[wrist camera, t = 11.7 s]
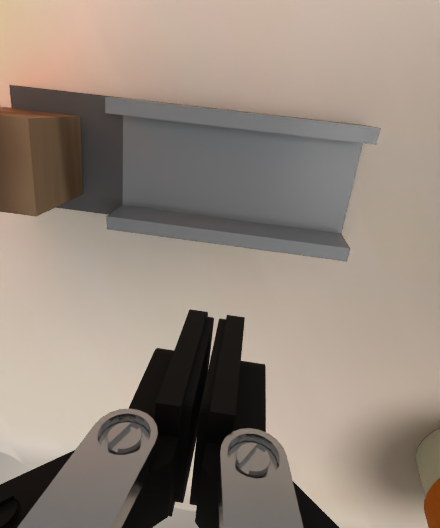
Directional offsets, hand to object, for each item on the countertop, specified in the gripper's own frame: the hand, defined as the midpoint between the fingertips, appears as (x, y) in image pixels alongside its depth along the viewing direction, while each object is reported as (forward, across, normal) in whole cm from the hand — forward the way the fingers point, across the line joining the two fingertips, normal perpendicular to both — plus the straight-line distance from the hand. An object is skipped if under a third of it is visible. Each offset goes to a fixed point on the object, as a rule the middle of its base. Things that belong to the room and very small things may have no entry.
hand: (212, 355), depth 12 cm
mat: (+21, +14, -2) cm, 26 cm away
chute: (+21, +1, -2) cm, 21 cm away
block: (+20, +16, -2) cm, 26 cm away
